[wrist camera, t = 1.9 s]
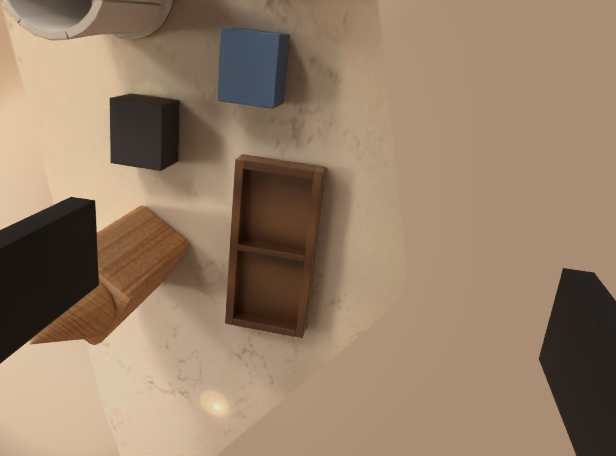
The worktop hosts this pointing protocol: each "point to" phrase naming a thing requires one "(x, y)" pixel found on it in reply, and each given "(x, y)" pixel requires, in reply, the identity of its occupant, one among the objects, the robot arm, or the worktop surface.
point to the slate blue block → (252, 67)
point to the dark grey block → (144, 131)
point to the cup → (89, 17)
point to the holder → (273, 244)
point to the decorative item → (120, 277)
